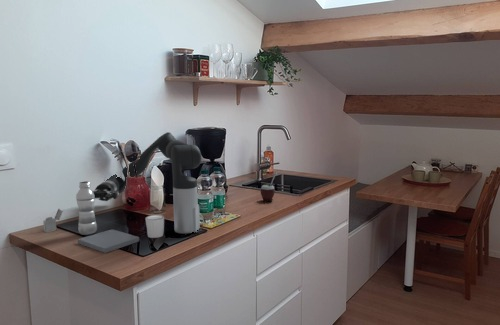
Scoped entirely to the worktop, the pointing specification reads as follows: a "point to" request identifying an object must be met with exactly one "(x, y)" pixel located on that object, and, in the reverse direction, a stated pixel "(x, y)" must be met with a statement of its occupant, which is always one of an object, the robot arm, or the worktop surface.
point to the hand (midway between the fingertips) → (95, 199)
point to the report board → (108, 240)
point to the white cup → (155, 226)
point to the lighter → (52, 222)
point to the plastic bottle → (86, 209)
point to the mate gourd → (268, 191)
